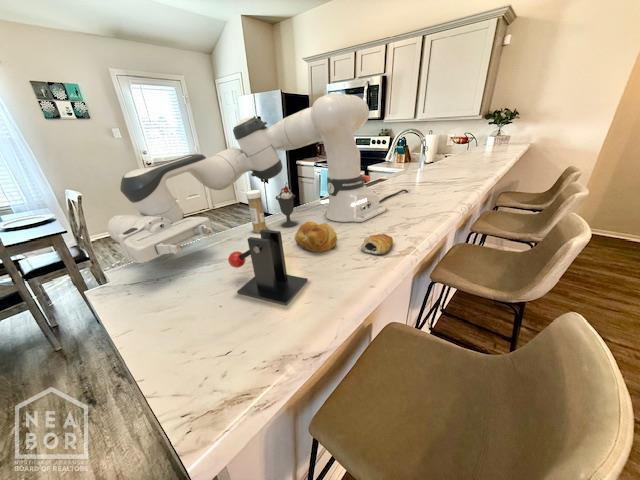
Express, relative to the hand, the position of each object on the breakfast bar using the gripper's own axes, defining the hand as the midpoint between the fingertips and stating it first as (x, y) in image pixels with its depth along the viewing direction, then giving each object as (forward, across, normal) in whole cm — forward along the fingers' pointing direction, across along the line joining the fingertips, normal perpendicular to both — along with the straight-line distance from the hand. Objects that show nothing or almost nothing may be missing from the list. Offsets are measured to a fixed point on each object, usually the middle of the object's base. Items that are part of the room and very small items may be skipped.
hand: (195, 240), depth 62 cm
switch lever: (+17, 0, -2) cm, 17 cm away
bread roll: (+20, -21, -9) cm, 31 cm away
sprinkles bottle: (-3, -27, -9) cm, 29 cm away
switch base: (+21, 0, -9) cm, 23 cm away
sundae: (+4, -34, -9) cm, 36 cm away
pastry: (+37, -25, -9) cm, 45 cm away
